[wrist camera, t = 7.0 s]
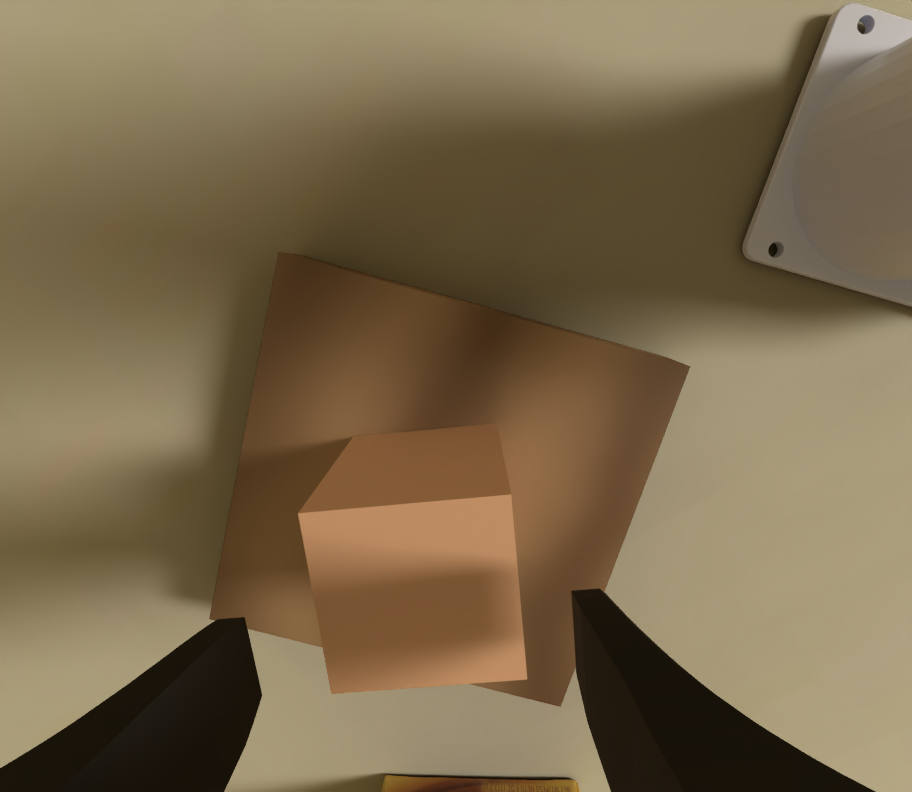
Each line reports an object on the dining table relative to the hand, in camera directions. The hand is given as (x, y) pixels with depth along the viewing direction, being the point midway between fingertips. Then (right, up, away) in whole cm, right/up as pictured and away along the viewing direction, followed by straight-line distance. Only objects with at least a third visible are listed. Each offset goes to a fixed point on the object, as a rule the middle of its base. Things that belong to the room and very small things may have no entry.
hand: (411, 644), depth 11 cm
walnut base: (0, +2, +9) cm, 9 cm away
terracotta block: (0, +2, +7) cm, 7 cm away
